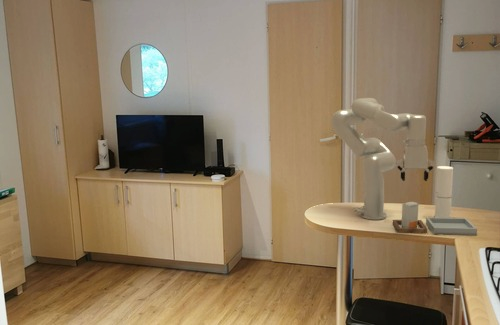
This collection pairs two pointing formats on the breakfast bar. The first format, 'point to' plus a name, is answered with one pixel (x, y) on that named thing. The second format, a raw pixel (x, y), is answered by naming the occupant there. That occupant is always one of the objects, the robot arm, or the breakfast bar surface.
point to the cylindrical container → (443, 192)
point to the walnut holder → (409, 230)
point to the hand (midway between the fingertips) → (414, 180)
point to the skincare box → (409, 215)
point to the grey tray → (451, 226)
